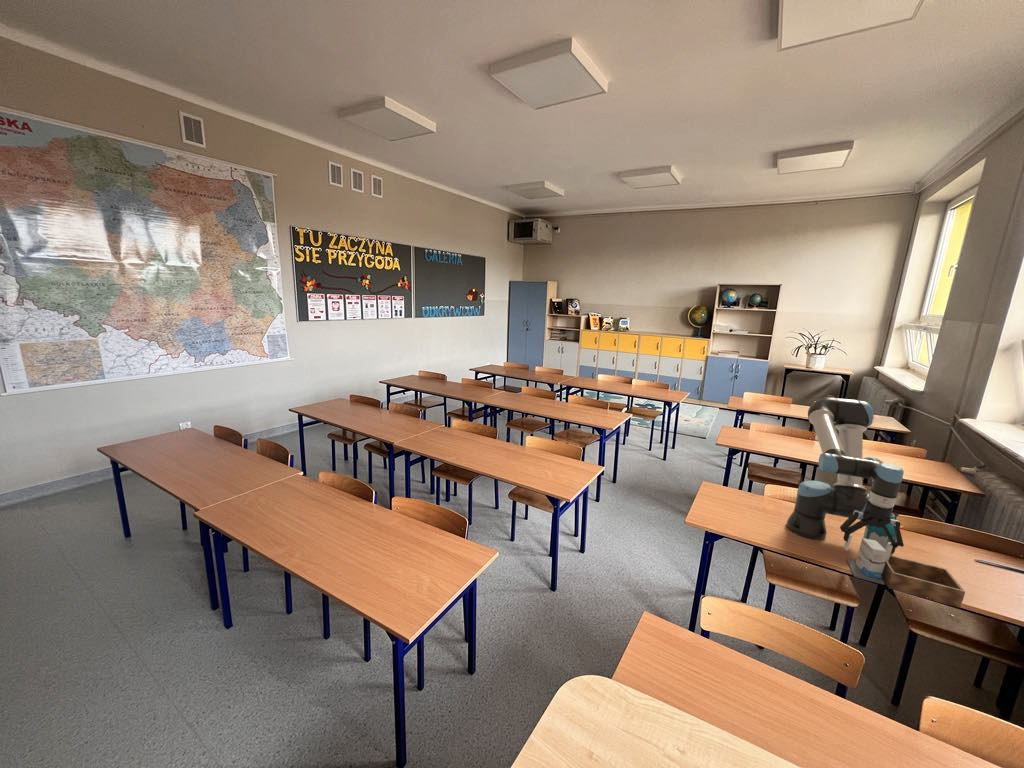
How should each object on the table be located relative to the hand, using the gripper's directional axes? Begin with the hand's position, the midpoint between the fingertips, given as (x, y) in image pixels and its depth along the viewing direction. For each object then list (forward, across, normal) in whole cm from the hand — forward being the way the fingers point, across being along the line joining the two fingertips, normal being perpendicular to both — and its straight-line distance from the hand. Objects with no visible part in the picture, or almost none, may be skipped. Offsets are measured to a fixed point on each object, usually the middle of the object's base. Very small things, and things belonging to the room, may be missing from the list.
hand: (865, 553), depth 164 cm
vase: (+8, +9, +17) cm, 21 cm away
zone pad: (+7, +1, -1) cm, 7 cm away
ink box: (+7, +2, -1) cm, 7 cm away
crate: (+7, +16, -1) cm, 18 cm away
